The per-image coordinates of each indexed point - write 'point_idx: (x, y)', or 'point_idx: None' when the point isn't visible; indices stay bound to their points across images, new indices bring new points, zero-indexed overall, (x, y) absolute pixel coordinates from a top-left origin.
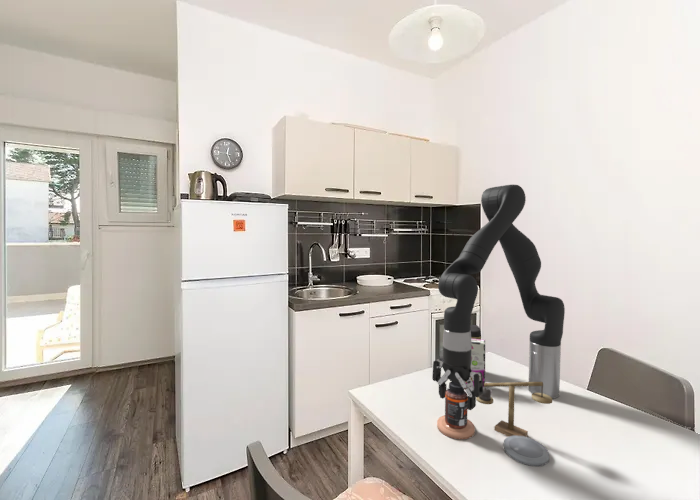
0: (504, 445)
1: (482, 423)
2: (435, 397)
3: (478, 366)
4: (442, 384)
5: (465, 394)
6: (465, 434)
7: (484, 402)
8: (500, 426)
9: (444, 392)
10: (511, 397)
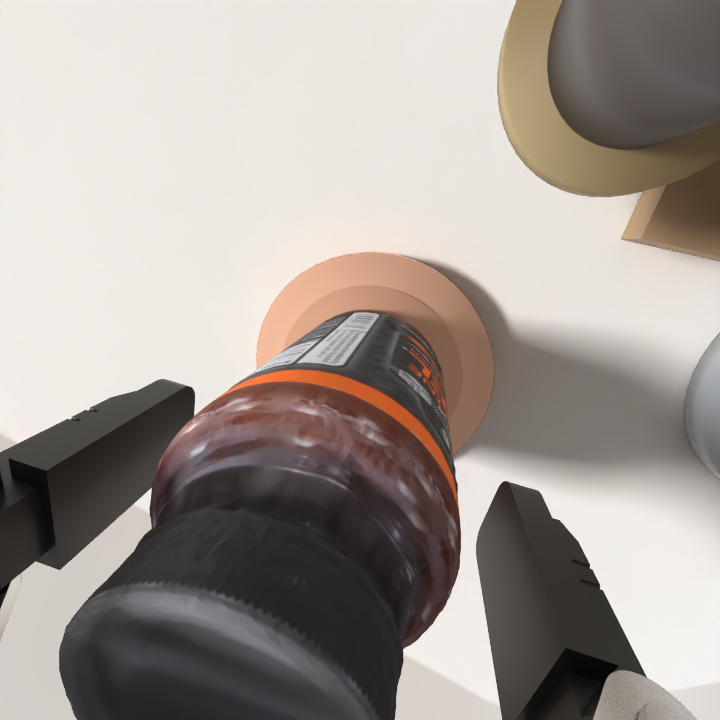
0: (710, 450)
1: (521, 191)
2: (78, 8)
3: None
4: (25, 568)
5: (436, 591)
6: (452, 451)
7: (644, 188)
8: (696, 211)
9: (150, 446)
10: None
